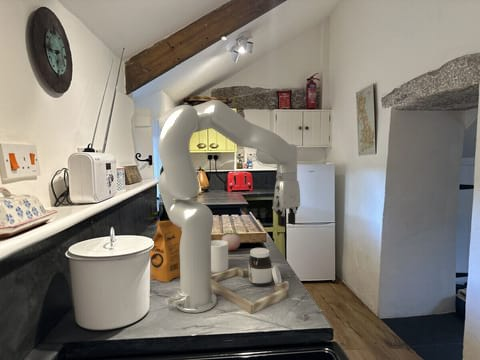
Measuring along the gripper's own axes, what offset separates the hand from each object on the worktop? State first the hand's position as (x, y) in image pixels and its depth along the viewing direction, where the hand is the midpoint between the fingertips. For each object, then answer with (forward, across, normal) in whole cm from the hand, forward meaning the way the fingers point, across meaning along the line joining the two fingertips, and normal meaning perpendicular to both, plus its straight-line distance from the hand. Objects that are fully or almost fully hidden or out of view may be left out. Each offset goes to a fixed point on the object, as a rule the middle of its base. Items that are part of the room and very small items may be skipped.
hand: (286, 224), depth 110 cm
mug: (+20, -16, +22) cm, 34 cm away
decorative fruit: (+20, 0, +35) cm, 40 cm away
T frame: (+19, -19, 0) cm, 27 cm away
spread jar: (+20, -12, 0) cm, 23 cm away
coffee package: (+20, -36, +28) cm, 50 cm away
